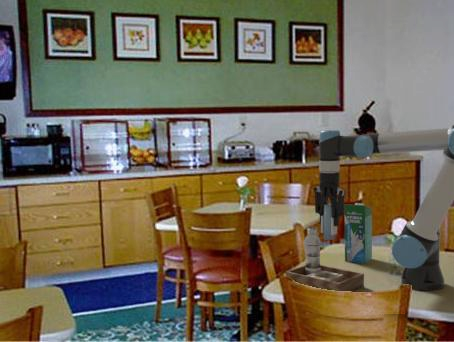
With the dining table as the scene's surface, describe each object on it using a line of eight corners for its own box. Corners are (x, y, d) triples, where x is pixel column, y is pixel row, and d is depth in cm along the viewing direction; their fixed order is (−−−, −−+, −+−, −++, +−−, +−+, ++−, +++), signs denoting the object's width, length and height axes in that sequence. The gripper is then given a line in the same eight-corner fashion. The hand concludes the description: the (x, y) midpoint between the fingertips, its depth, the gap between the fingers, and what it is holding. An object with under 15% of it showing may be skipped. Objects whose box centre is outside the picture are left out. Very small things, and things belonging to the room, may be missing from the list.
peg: (336, 238, 219) (336, 204, 218) (330, 240, 217) (330, 206, 215) (328, 236, 222) (328, 203, 221) (321, 238, 220) (321, 204, 218)
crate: (363, 286, 215) (363, 273, 214) (339, 297, 204) (339, 283, 203) (311, 275, 232) (310, 263, 231) (285, 284, 220) (285, 271, 220)
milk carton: (372, 258, 254) (371, 202, 251) (365, 263, 246) (364, 205, 244) (352, 256, 259) (351, 200, 256) (344, 261, 251) (344, 204, 249)
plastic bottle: (315, 282, 222) (314, 230, 220) (301, 279, 226) (300, 228, 224) (325, 278, 226) (324, 228, 224) (310, 275, 231) (309, 226, 229)
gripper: (354, 172, 213) (353, 235, 216) (317, 169, 225) (317, 228, 228) (341, 174, 208) (341, 238, 211) (305, 170, 220) (305, 231, 223)
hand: (329, 233), depth 219 cm, fingers closed on peg, 4 cm apart
